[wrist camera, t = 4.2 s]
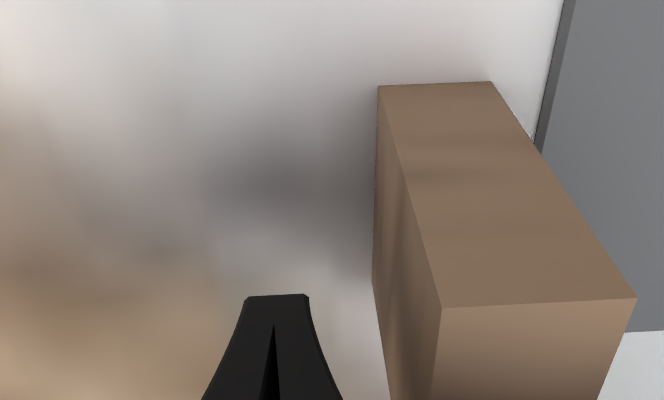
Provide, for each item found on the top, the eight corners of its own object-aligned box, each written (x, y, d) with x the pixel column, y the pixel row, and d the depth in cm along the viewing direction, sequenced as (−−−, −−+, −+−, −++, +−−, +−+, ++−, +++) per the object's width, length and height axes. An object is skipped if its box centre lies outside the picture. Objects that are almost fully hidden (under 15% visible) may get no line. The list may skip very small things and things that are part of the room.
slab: (461, 276, 19) (546, 523, 13) (371, 280, 19) (412, 532, 13) (490, 81, 15) (637, 297, 9) (378, 85, 15) (442, 308, 9)
